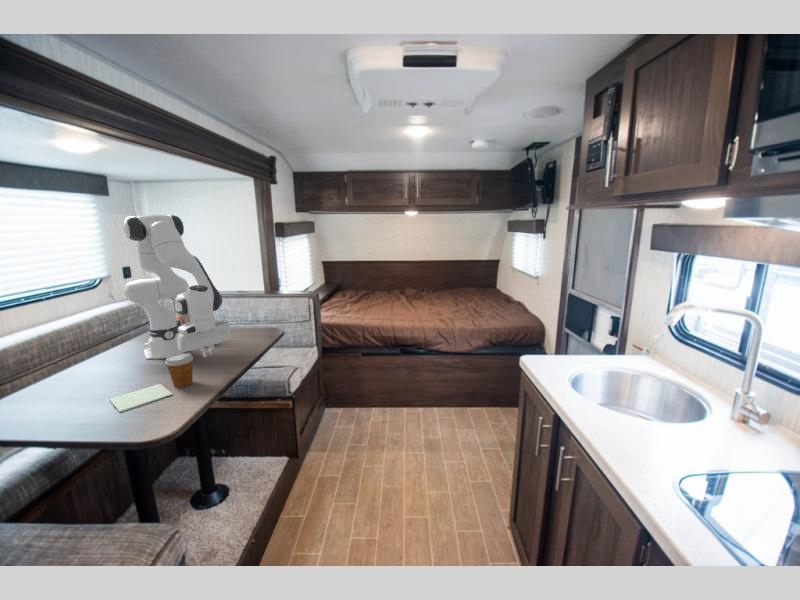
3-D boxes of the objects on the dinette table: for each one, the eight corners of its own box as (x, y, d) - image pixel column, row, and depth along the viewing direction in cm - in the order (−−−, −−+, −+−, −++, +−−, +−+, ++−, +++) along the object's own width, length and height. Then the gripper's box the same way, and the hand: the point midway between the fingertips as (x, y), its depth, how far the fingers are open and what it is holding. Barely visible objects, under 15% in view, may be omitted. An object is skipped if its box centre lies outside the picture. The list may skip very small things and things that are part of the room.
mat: (109, 400, 123) (109, 399, 123) (160, 385, 136) (159, 383, 136) (119, 412, 115) (119, 411, 115) (172, 395, 127) (172, 393, 127)
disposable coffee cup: (172, 381, 139) (168, 354, 136) (199, 377, 142) (195, 351, 140) (166, 391, 130) (161, 362, 128) (194, 387, 133) (190, 359, 131)
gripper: (225, 318, 149) (228, 347, 152) (173, 328, 134) (178, 361, 136) (232, 320, 145) (235, 350, 148) (179, 331, 130) (184, 365, 132)
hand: (207, 355), depth 142 cm, fingers closed
